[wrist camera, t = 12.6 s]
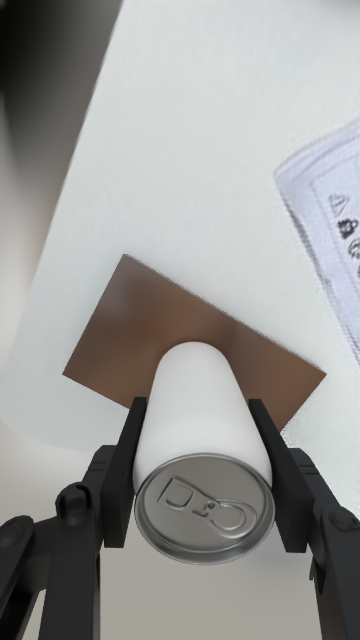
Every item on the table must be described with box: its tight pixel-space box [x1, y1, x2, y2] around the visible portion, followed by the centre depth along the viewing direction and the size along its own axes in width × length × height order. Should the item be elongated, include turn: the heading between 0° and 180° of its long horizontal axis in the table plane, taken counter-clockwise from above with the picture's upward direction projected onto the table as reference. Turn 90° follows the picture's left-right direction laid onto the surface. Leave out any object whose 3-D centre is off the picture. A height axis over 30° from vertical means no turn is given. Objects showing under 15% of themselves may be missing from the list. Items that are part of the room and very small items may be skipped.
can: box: [133, 342, 276, 565], centre depth 15 cm, size 6×6×12 cm
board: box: [62, 254, 327, 433], centre depth 22 cm, size 20×12×1 cm, turn 60°
